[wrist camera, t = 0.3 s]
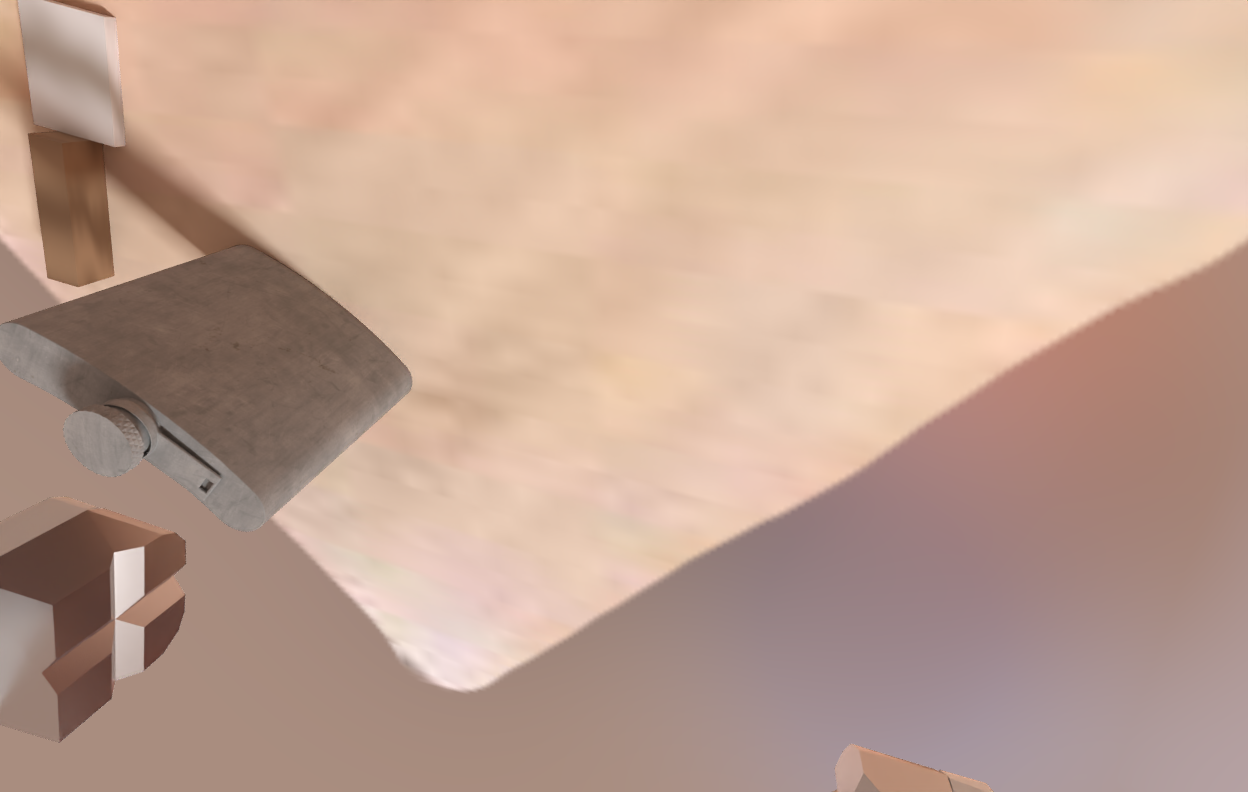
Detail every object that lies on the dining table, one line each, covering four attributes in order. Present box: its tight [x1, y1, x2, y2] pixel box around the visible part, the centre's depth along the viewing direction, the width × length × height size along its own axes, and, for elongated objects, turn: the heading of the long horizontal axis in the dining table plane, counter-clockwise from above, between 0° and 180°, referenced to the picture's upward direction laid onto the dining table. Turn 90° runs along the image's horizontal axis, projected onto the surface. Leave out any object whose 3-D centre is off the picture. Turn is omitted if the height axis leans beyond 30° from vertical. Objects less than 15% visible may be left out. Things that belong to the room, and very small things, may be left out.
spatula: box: [18, 0, 126, 287], centre depth 48 cm, size 18×6×3 cm, turn 167°
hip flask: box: [0, 245, 412, 532], centre depth 43 cm, size 16×4×20 cm, turn 51°
